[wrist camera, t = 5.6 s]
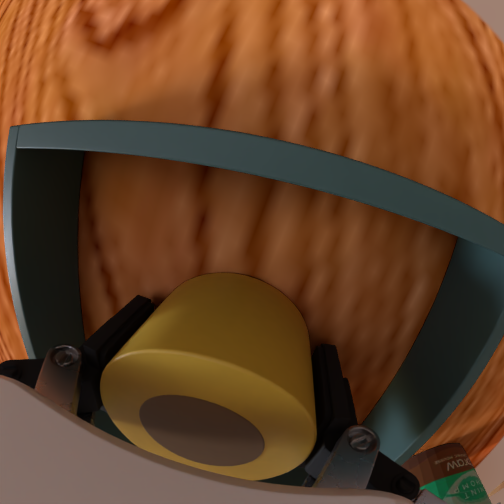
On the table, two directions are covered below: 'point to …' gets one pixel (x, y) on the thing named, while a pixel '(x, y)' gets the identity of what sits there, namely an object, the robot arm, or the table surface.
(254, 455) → the tape roll
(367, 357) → the table surface
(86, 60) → the table surface
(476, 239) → the dark green rectangular frame
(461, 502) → the food container
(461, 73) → the table surface
